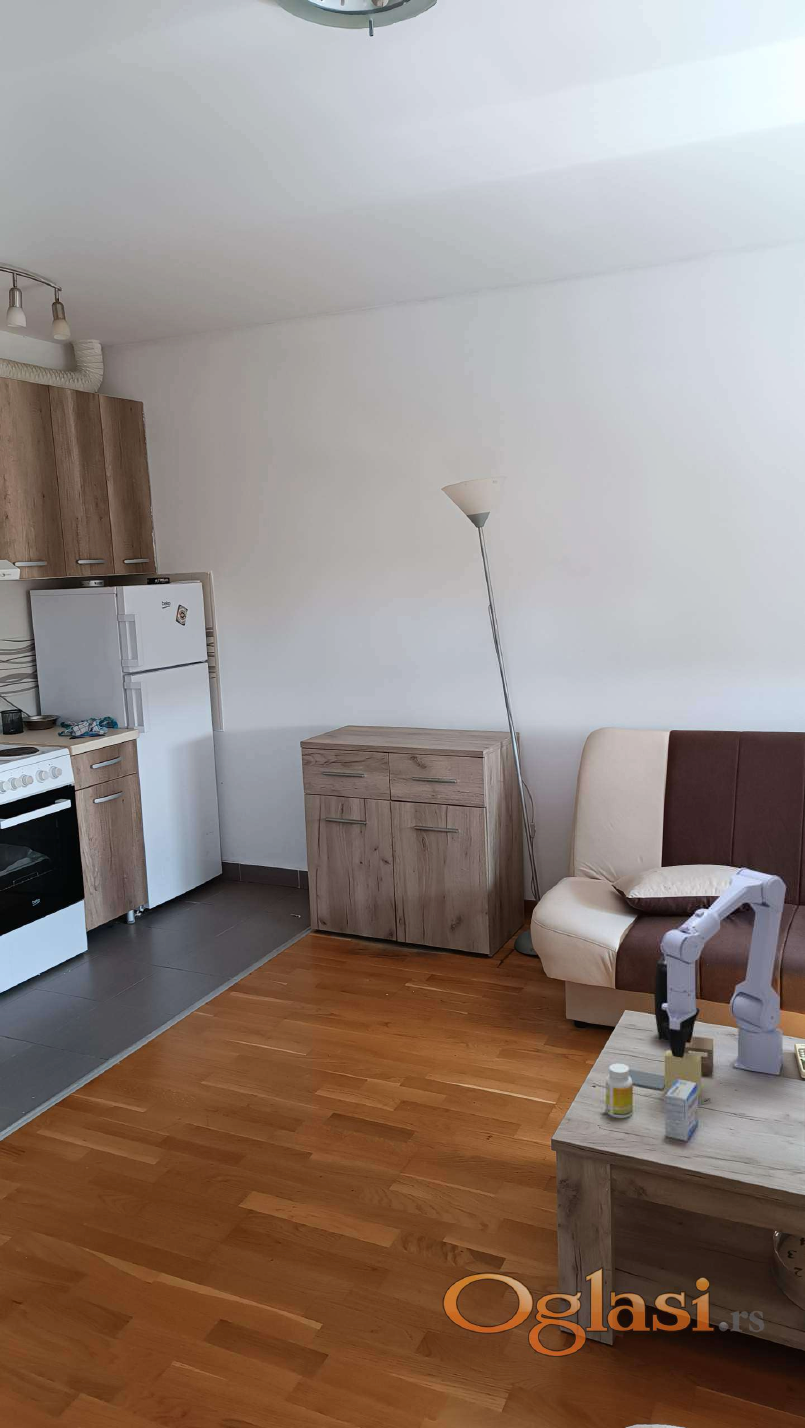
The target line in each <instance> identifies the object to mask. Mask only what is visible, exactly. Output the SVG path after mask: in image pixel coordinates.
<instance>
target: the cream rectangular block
mask: <svg viewBox="0 0 805 1428" xmlns="http://www.w3.org/2000/svg"><path fill="white" fill-rule="evenodd" d="M664 1076H665V1087H664V1092H665V1093H667V1092H668V1091H669V1089H670V1088H671V1087H672V1085H673V1084H674V1083H675V1081H676V1080H677V1079H679V1080H685V1081H690V1082H694V1083H697V1084H698V1099H699V1098H700V1095H701V1093H702V1075H701V1056H700V1055H694V1054H688V1053H684V1056H683V1058H680V1057H674V1056H673V1055H672V1051H671V1049H667V1051H666V1052H665V1055H664Z"/></svg>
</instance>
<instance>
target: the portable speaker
mask: <svg viewBox="0 0 805 1428" xmlns="http://www.w3.org/2000/svg"><path fill="white" fill-rule="evenodd" d="M655 969H656V970H655V976H654V990H653V991H654V1015H655V1021H656V1023H655V1025H656V1030H657V1034H658V1040H660V1041H662V1040H664V1041H666V1042H668V1043H669V1040H668V1037H667V1035H666V1033H665V1031H664V1030H663V1023H664V1022H669V1020H670V1018H669V1015H668V1012H667V1010H663V1009H662V1005H663V1004H664V1003H667V1004H668V1001H667V963H666V962H665V955H663V956H660V957H659V959H658V961H657V964H656V968H655ZM693 1034H694V1032H693V1033H692V1036H693Z"/></svg>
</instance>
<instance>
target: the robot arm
mask: <svg viewBox="0 0 805 1428" xmlns="http://www.w3.org/2000/svg"><path fill="white" fill-rule="evenodd" d="M786 890H787V885H786V884H785V883H784V880H782V878H781V877H780V876H777V875H775V874H774V875H771V874H767V873H763V872H760V871H757V870H751V869H749V868H747V867H741V868H739V869H738V870H737V871H735V873H734V874H733V875H731V876H730V879H729V886H728V887H727V888H726V889H725V890H724V891H723V892H722V893H721V894H720V896H718V898H717V899H716V900H715V901H714V902H713V903H712V904H711V905H710V907H708V909H706V908H700V909H696V911H695V912H694V914H693V915H692V916H691V917H689V918H688V919H687V920H686V921H685V922H684V923H683V924H682V925H681V926H680V927H678V928H677V929H671V930H669V931H667V932H666V933H665V934H664V935H663V937H662V941H661V943H660V950H661V952H662V954H663V956H665V962H666V963H667V1001H668V1004H667V1003H664V1004H663V1005H662V1009H663V1010H667V1012H668V1015H669V1018H670V1020H669V1022H664V1023H663V1030H664V1031H665V1033H666V1035H667V1037H668V1040H669V1042H668V1043H669V1046H670V1051H672V1055H673V1056H674V1057H680V1058H683V1056H684V1052H685V1046H686V1043H690V1041H691V1038H692V1036H693V1035H692V1033H693V1034H694V1027H695V1023H696V1020H697V1017H698V1016H699V1014H700V1012H701V1011H700V1008H699V1007H696V961H697V960H698V959H699V957H700V956H701V954H702V950H703V948H704V947H705V944H706V943H707V942H708V941H709V940H710V939H711V938H712V937H714V936H715V934H717V932H718V931H720V928H721V921H722V920H724V918H726V917H728V916H729V915H731V913H732V912H734V911H735V910H737V909H738V908H739V907H741V906H742V905H743V904H745V903H746V904H747V903H748V904H749V905H750V906H751V908H752V909H753V910H754V912H755V913H754V914H755V915H754V922H753V929H752V934H751V935H752V936H751V942H750V947H749V948H750V949H749V956H748V962H747V967H746V969H747V970H746V974H745V975H746V976H745V980H744V981H742V982H741V983H738V984H737V985H735V988H734V993H733V996H731V999H730V1001H729V1011H730V1014H731V1016H732V1017H734V1019H735V1022H734V1023H736V1024H737V1056H736V1058H735V1061H734V1064H733V1067H734V1068H735V1069H741V1070H745V1071H753V1072H759V1073H765V1074H769V1075H770V1074H771V1075H776V1076H777V1075H779V1074H780V1072H781V1069H782V1064H783V1063H784V1055H783V1030H782V1029H780V1028H777V1026H778V1024H779V1023H780V1020H781V1009H780V1003H781V1002H780V1001H781V998H780V996H779V995H778V994H777V992H776V991H775V989H774V988H773V987H772V979H773V972H774V967H775V966H774V965H775V961H776V960H775V959H776V954H777V953H776V952H777V945H778V940H779V939H778V938H779V933H780V926H781V921H782V920H781V919H782V913H783V911H784V910H783V909H784V903H785V896H786Z"/></svg>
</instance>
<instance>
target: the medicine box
mask: <svg viewBox="0 0 805 1428" xmlns="http://www.w3.org/2000/svg"><path fill="white" fill-rule="evenodd" d="M698 1125H699V1098H698V1084H697V1083H694V1082H690V1081H685V1080H679V1079H677V1080H676V1081H675V1083H674V1084H673V1085H672V1087H671V1088H670V1089H669V1091H668V1092H665V1095H664V1129H665V1131H664V1133H665V1137H667V1138H670V1139H671V1138H672V1139H676V1140H679V1141H680V1140H681V1141H685V1142H688V1141H689V1138H690V1137H691V1136H692V1134H693V1132H694V1131H695V1129H696V1127H697V1126H698Z"/></svg>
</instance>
